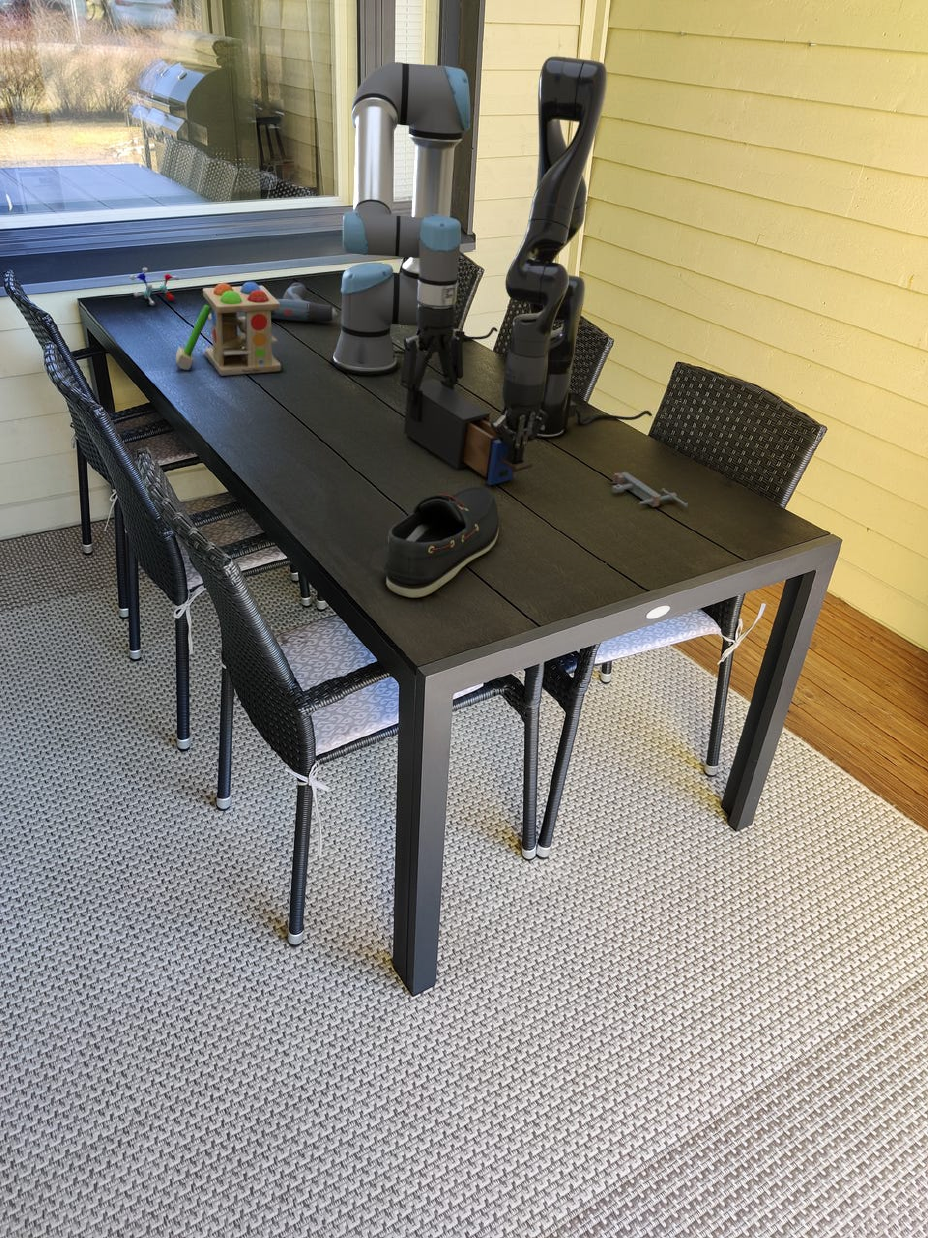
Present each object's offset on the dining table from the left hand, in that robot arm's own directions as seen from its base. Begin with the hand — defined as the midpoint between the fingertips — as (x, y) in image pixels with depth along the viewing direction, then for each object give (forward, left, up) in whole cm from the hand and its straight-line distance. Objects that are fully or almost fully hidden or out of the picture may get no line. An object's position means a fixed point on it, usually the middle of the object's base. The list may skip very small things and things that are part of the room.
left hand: (429, 415), depth 202 cm
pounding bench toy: (+13, -58, -6) cm, 60 cm away
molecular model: (+4, -109, -6) cm, 109 cm away
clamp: (-18, +43, -6) cm, 47 cm away
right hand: (+2, +26, 0) cm, 26 cm away
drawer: (+1, +17, -5) cm, 18 cm away
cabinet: (0, +5, -5) cm, 7 cm away
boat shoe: (+28, +36, -6) cm, 46 cm away
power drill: (-26, -81, -5) cm, 85 cm away
